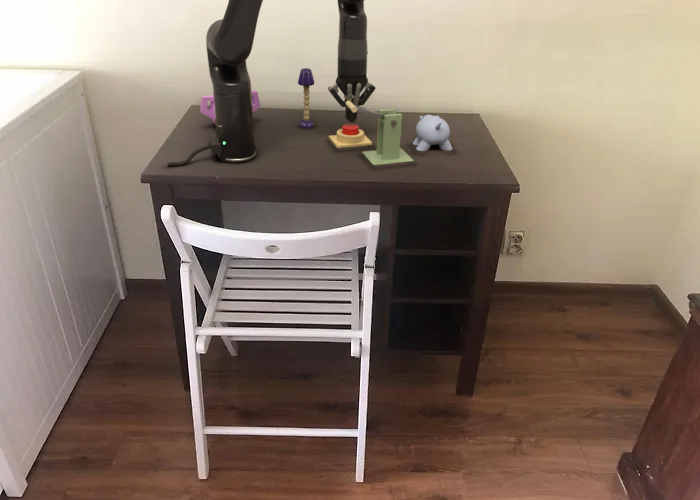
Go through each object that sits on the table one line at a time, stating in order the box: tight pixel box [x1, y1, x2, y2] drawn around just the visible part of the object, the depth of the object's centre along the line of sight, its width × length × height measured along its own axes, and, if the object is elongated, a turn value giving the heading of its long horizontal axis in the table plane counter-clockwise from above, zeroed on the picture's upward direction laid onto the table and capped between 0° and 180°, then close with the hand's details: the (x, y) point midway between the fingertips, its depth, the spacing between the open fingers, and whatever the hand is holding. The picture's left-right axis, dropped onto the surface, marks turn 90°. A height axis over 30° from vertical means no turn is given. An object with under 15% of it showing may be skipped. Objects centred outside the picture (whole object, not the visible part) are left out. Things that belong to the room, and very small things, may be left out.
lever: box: [346, 101, 390, 122], centre depth 147 cm, size 13×5×2 cm, turn 108°
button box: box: [328, 128, 373, 149], centre depth 163 cm, size 10×8×4 cm
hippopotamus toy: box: [412, 114, 453, 152], centre depth 162 cm, size 11×15×10 cm
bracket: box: [361, 108, 415, 166], centre depth 152 cm, size 11×9×13 cm
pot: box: [199, 89, 262, 125], centre depth 171 cm, size 18×17×12 cm
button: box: [341, 123, 360, 135], centre depth 162 cm, size 4×4×2 cm
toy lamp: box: [297, 67, 315, 129], centre depth 171 cm, size 5×5×17 cm
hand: (351, 121), depth 161 cm, fingers closed
